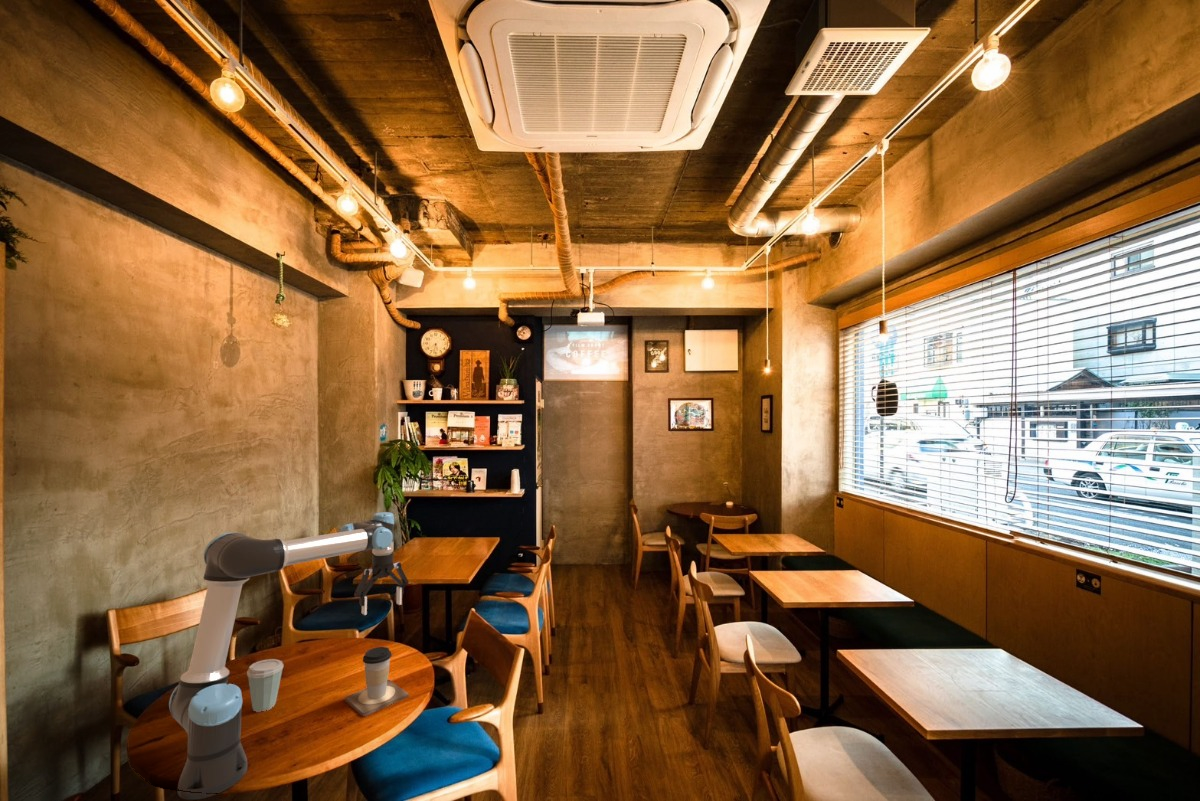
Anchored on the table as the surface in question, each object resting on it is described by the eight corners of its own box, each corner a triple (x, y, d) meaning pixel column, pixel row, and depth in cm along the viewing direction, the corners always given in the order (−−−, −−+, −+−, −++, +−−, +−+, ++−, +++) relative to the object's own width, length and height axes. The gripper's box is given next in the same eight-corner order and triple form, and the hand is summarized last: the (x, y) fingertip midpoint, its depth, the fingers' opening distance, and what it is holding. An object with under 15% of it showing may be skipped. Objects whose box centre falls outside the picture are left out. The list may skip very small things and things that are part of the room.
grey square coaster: (363, 717, 166) (363, 712, 166) (344, 700, 176) (344, 696, 176) (408, 697, 178) (408, 692, 178) (388, 682, 188) (388, 678, 188)
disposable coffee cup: (273, 695, 179) (274, 653, 180) (289, 704, 173) (290, 660, 174) (239, 710, 170) (241, 665, 171) (255, 720, 164) (256, 673, 165)
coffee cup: (380, 703, 171) (380, 659, 172) (356, 700, 173) (356, 656, 174) (396, 689, 181) (397, 647, 181) (373, 686, 183) (374, 644, 183)
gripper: (353, 561, 180) (352, 621, 179) (417, 548, 199) (417, 602, 198) (345, 558, 185) (344, 615, 184) (408, 545, 204) (407, 597, 203)
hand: (382, 608), depth 191 cm, fingers open, 13 cm apart
